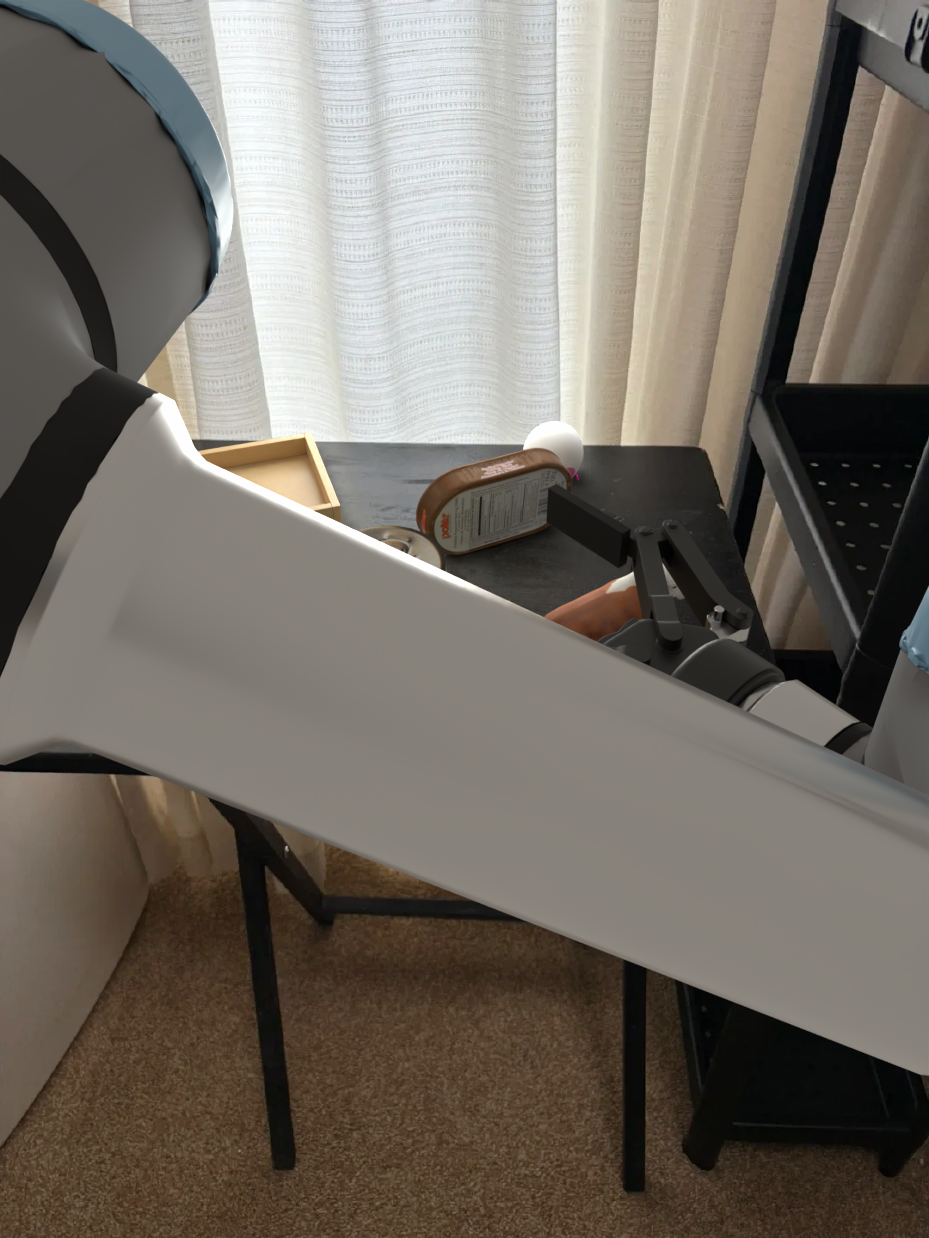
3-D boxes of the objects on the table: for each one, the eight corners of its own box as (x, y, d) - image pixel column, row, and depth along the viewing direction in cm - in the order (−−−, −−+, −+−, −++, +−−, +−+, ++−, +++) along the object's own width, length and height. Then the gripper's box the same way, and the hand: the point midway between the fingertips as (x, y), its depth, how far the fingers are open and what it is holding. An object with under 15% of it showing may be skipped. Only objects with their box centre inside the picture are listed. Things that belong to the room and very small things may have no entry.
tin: (557, 509, 101) (563, 433, 95) (574, 526, 99) (580, 450, 93) (415, 551, 96) (412, 475, 90) (429, 571, 94) (427, 493, 88)
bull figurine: (686, 649, 86) (701, 572, 81) (546, 704, 81) (552, 626, 76) (655, 617, 89) (667, 541, 84) (518, 669, 84) (522, 592, 79)
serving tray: (197, 554, 96) (192, 533, 94) (180, 475, 105) (175, 454, 104) (342, 527, 99) (340, 505, 97) (313, 453, 109) (310, 432, 107)
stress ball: (529, 485, 110) (494, 439, 106) (595, 446, 107) (561, 398, 103) (533, 525, 104) (496, 478, 100) (603, 486, 101) (567, 436, 98)
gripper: (568, 918, 50) (313, 680, 62) (869, 675, 62) (606, 516, 74) (578, 820, 45) (299, 582, 57) (903, 576, 57) (615, 423, 69)
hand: (472, 544), depth 65 cm, fingers open, 13 cm apart
